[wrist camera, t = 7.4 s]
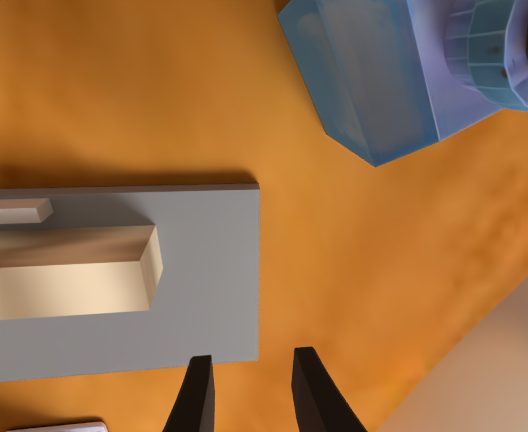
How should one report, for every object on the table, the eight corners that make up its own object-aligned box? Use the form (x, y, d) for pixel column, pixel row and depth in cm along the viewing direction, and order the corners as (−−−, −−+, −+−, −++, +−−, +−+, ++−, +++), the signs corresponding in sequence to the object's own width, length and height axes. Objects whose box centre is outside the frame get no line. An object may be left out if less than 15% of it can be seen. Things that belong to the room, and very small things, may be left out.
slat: (155, 225, 17) (139, 261, 14) (163, 268, 18) (149, 310, 15) (-82, 233, 15) (-160, 275, 12) (-55, 279, 17) (-119, 327, 14)
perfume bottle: (401, -62, 13) (1176, -637, 2) (431, 76, 16) (856, 95, 5) (276, 15, 14) (441, -159, 3) (326, 134, 17) (504, 255, 6)
